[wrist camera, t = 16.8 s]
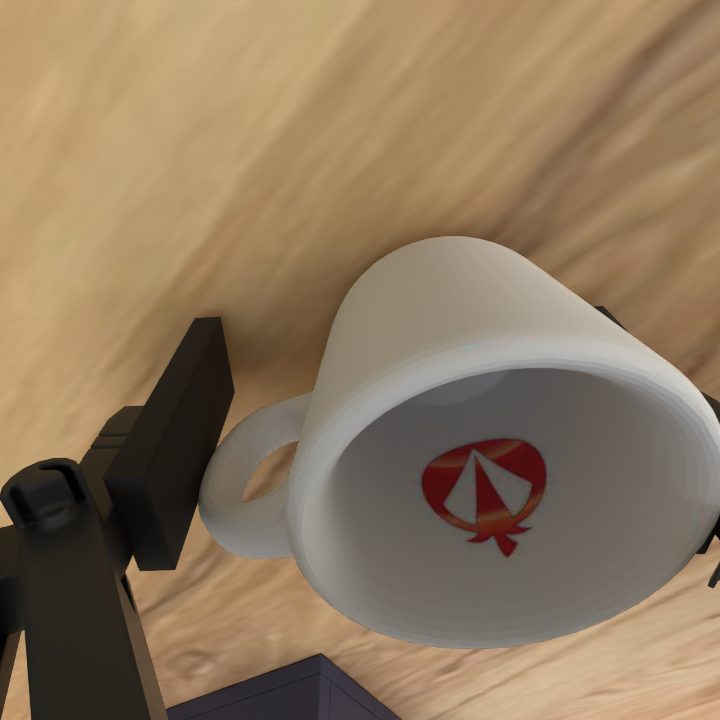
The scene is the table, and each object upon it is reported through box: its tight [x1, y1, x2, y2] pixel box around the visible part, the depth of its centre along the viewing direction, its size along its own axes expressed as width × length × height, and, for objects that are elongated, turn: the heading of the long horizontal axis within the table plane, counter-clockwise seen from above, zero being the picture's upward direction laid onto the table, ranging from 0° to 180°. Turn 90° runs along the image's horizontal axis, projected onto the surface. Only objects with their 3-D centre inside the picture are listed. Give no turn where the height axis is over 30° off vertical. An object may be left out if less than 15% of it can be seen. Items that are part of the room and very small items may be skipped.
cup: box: [198, 236, 720, 649], centre depth 13 cm, size 11×8×8 cm
